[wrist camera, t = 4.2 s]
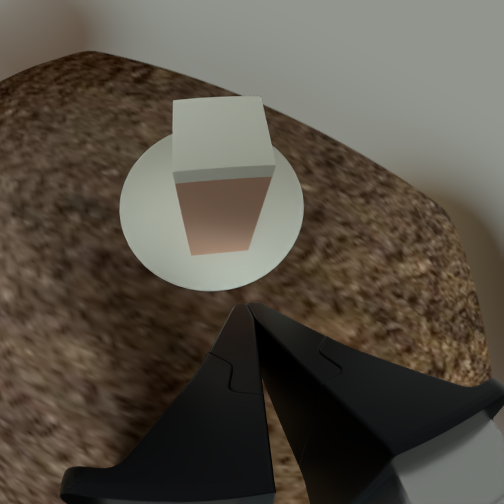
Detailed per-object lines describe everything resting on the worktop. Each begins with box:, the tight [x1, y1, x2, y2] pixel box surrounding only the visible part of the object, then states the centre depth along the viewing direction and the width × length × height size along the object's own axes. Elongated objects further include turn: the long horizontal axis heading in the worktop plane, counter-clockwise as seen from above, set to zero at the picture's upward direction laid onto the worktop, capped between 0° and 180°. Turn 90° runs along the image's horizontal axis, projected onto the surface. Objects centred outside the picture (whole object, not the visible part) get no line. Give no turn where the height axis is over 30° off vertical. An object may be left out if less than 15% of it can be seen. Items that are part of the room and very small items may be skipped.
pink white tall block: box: [172, 96, 276, 256], centre depth 19 cm, size 4×4×12 cm
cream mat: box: [120, 134, 304, 291], centre depth 26 cm, size 16×16×1 cm
